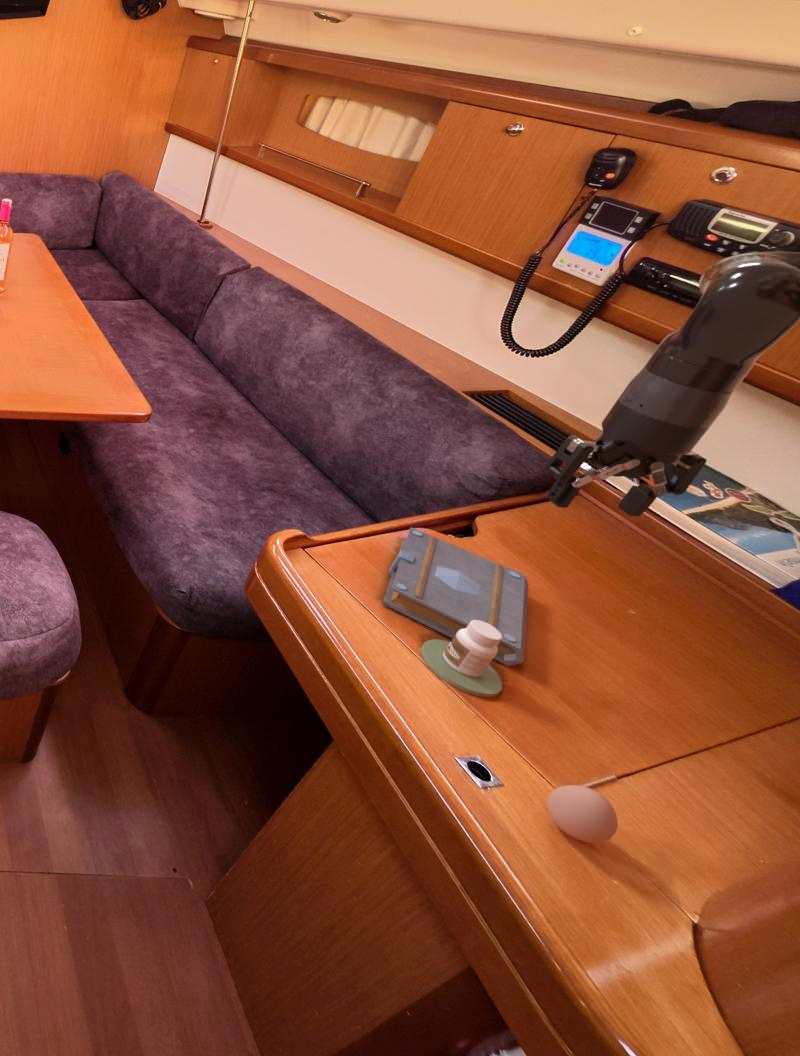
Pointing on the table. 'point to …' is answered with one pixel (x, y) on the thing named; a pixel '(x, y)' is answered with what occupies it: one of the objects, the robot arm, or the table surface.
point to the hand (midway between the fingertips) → (591, 508)
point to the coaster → (478, 686)
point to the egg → (582, 813)
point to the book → (458, 592)
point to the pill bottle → (473, 648)
